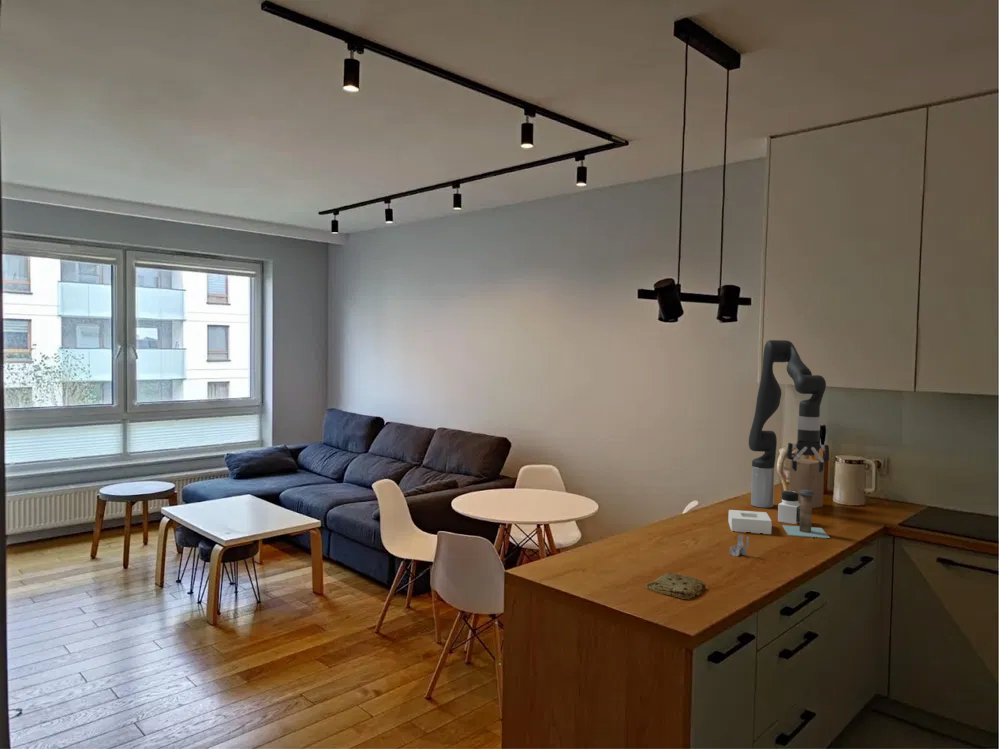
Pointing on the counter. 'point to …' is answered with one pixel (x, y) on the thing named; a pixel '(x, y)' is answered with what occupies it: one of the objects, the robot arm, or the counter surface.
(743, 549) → the grey upright blocky piece
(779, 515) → the medicine bottle
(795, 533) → the mat
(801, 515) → the pin
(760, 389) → the robot arm
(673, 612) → the counter surface
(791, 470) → the wooden block
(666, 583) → the pastry
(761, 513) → the eye block
